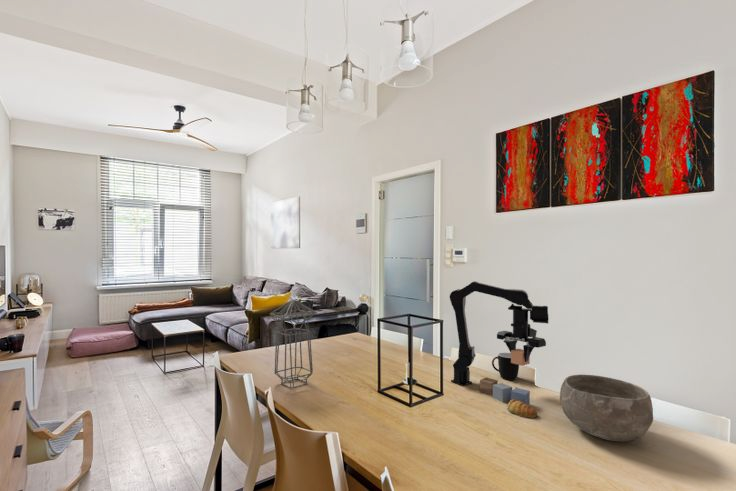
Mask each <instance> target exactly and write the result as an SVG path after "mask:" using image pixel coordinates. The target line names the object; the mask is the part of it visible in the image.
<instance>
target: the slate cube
mask: <svg viewBox="0 0 736 491" xmlns="http://www.w3.org/2000/svg"><path fill="white" fill-rule="evenodd" d="M512 390H513V386H510V385H508V384H506V383H504V382H501V383H499V382H498V384H494V385H493V396H492V399H495V400H497V401H499V402H501V403H506V402H510V401H511V391H512Z"/></svg>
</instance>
